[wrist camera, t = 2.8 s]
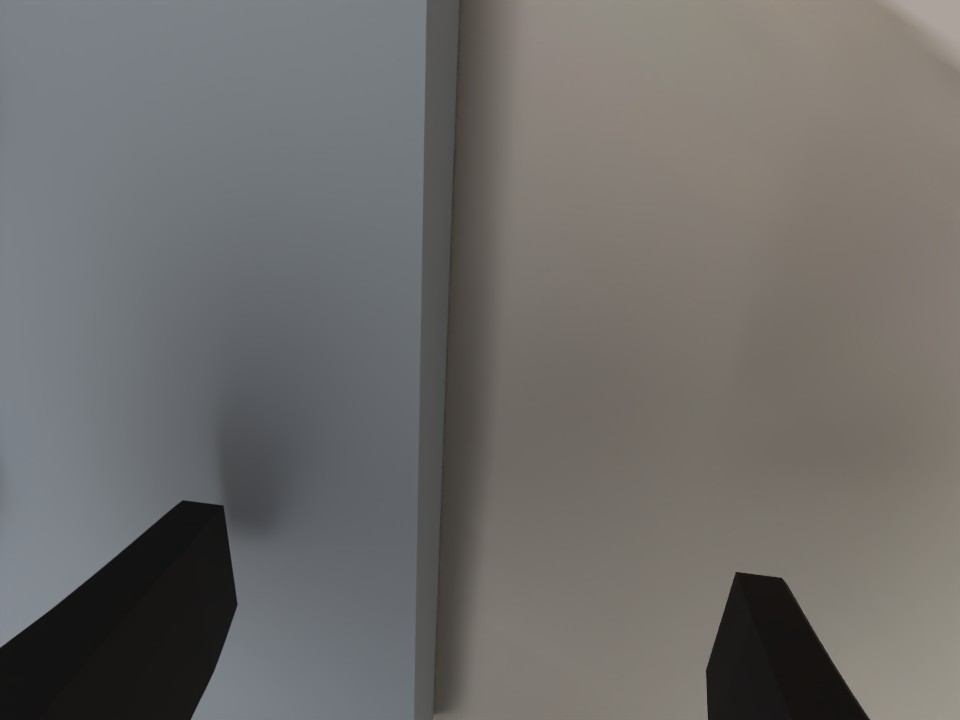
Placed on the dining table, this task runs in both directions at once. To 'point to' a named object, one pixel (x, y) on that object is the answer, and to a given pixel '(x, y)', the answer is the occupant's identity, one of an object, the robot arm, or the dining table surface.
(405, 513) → the board
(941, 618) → the dining table surface
